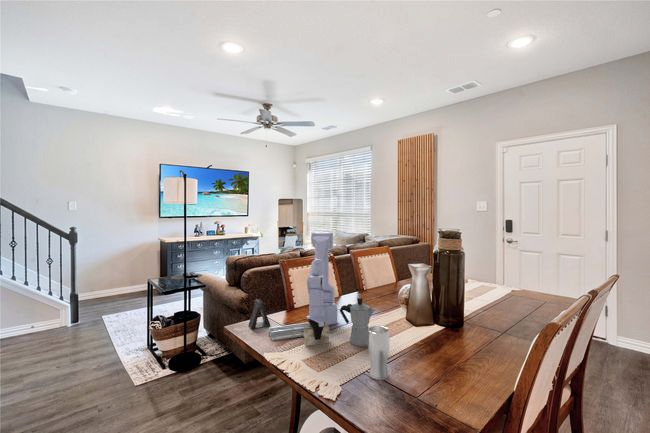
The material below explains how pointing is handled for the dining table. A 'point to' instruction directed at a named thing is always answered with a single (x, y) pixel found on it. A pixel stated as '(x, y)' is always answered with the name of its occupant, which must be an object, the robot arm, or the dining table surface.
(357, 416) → the dining table surface
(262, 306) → the phone stand
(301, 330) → the track
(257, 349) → the dining table surface
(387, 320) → the dining table surface
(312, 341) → the door panel
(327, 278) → the robot arm
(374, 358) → the beer glass
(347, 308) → the coffee maker
